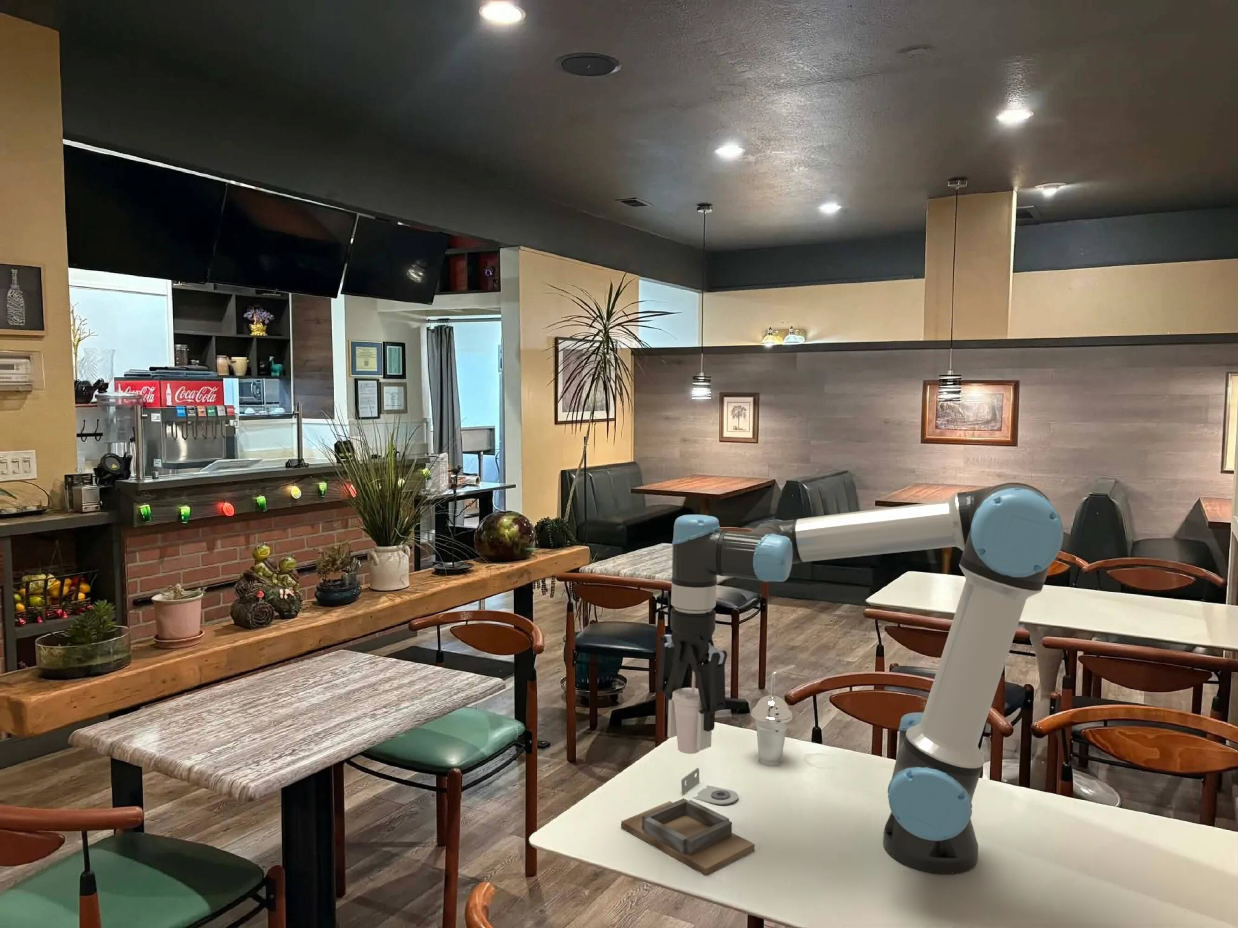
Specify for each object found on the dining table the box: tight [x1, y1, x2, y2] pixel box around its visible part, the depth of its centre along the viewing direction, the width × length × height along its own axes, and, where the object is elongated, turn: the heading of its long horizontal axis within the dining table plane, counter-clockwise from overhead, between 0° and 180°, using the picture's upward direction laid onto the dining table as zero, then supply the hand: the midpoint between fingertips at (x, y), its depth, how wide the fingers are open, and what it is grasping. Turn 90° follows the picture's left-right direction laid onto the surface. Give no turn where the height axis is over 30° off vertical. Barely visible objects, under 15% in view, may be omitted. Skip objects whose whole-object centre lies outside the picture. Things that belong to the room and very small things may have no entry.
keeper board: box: [620, 798, 756, 877], centre depth 154 cm, size 20×12×4 cm, turn 42°
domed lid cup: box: [751, 664, 796, 767], centre depth 186 cm, size 8×9×20 cm
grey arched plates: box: [680, 767, 739, 806], centre depth 171 cm, size 7×10×4 cm, turn 57°
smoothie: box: [672, 669, 702, 755], centre depth 152 cm, size 6×6×14 cm
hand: (689, 741), depth 152 cm, fingers closed on smoothie, 6 cm apart
